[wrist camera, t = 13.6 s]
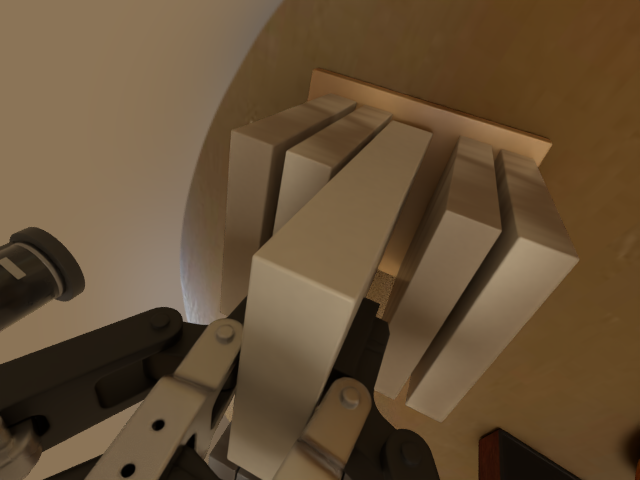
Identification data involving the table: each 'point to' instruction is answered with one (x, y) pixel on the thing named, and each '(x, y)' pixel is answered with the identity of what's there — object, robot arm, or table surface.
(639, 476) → the fruit
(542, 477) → the radio
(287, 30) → the table surface
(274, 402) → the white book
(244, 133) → the upright slab rack
